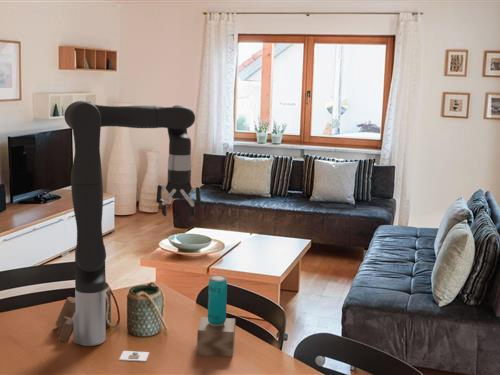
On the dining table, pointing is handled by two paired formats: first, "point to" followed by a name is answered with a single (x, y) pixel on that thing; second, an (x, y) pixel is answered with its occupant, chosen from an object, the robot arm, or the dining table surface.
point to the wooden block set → (66, 320)
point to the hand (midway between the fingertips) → (178, 216)
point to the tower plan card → (134, 356)
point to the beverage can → (217, 300)
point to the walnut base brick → (216, 338)
